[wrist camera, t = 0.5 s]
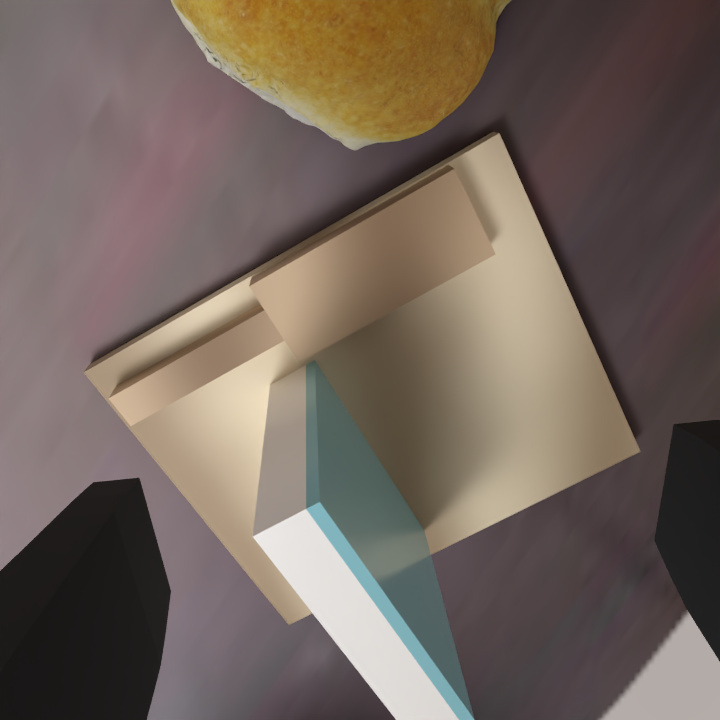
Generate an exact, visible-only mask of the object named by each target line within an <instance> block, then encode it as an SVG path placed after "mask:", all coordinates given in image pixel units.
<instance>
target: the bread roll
mask: <svg viewBox="0 0 720 720" xmlns="http://www.w3.org/2000/svg"><path fill="white" fill-rule="evenodd" d="M510 1H512V0H171V3H172V5H173V7H174V8H175V10H176V12H177V14H178V15H179V17H180V19H181V21H182V22H183V24H184V26H185V27H186V28H187V30H188V31H189V32H190V33H191V34H192V36H193V38H194V39H195V41H196V42H197V44H198V46H199V47H200V49H201V50H202V51H203V53H204V54H205V56H206V58H207V60H208V62H209V63H211V64H212V65H214V66H215V67H217V68H219V69H220V70H221V71H223V72H224V73H226V74H227V75H228V76H229V75H230V76H231V77H232V78H233V79H235V80H236V81H238V82H239V83H241V84H242V85H244V86H245V87H247V88H248V89H250V90H251V91H252V92H254V93H256V94H257V95H259V96H260V97H261V98H262V99H264V100H266V101H268V102H270V103H271V104H274V105H276V106H278V107H280V108H281V109H283V110H285V112H286V113H287V114H288V115H290V116H291V117H292V118H293V119H297V120H299V121H300V122H302V123H305V124H307V125H310V126H316V127H317V128H319V129H320V130H322V131H323V132H325V133H326V134H327V135H328V136H330V137H331V138H333V139H335V140H338V141H340V142H341V143H342V144H343V145H345V146H346V147H348V148H350V149H352V150H358V149H360V148H362V147H364V146H367V145H370V144H374V143H381V142H392V141H400V140H403V139H407V138H410V137H414V136H417V135H420V134H422V133H424V132H426V131H428V130H430V129H432V128H433V127H434V126H436V125H437V124H438V123H439V122H440V121H441V120H443V119H444V118H445V117H447V116H448V115H449V114H451V113H452V112H453V111H454V110H455V109H456V108H457V107H459V106H460V105H461V104H462V103H463V102H464V101H465V99H466V98H467V97H468V96H469V94H470V93H471V92H472V90H473V89H474V88H475V87H476V85H477V84H478V83H479V81H480V79H481V77H482V75H483V73H484V71H485V68H486V66H487V64H488V62H489V59H490V57H491V55H492V53H493V50H494V42H495V34H496V21H497V19H498V17H499V15H500V14H501V12H502V11H503V9H504V8H505V6H506V5H507V4H508V3H509V2H510Z"/></svg>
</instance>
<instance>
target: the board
mask: <svg viewBox="0 0 720 720" xmlns="http://www.w3.org/2000/svg"><path fill="white" fill-rule="evenodd" d="M447 165H449V166H451V167H453V168H454V169H455V170H456V173H457V175H458V177H459V179H460V181H461V183H462V185H463V187H464V189H465V191H466V193H467V195H468V198H469V200H470V202H471V204H472V206H473V208H474V210H475V212H476V214H477V216H478V218H479V220H480V222H481V225H482V227H483V229H484V231H485V233H486V235H487V237H488V239H489V241H490V243H491V245H492V247H493V250H494V252H495V255H494V256H492V257H490V258H488V259H486V260H485V261H483V262H481V263H479V264H477V265H475V266H474V267H472V268H470V269H468V270H466V271H465V272H463V273H461V274H459V275H457V276H455V277H454V278H452V279H450V280H448V281H446V282H445V283H443V284H441V285H439V286H437V287H435V288H434V289H432V290H430V291H428V292H426V293H425V294H423V295H421V296H419V297H417V298H415V299H414V300H412V301H410V302H408V303H406V304H405V305H403V306H401V307H399V308H397V309H395V310H394V311H392V312H390V313H388V314H386V315H385V316H383V317H381V318H379V319H377V320H375V321H374V322H372V323H370V324H368V325H366V326H365V327H363V328H361V329H359V330H357V331H355V332H354V333H352V334H350V335H348V336H346V337H345V338H343V339H341V340H339V341H337V342H336V343H334V344H332V345H330V346H328V347H326V348H325V349H323V350H321V351H319V352H317V353H316V354H314V355H312V356H310V357H308V358H306V359H305V360H303V361H301V362H298V360H297V359H296V357H295V356H294V354H293V353H292V351H291V350H290V348H289V347H288V345H287V344H286V342H285V341H283V342H281V343H279V344H277V345H276V346H274V347H272V348H270V349H269V350H267V351H265V352H263V353H261V354H260V355H258V356H256V357H254V358H252V359H251V360H249V361H247V362H245V363H243V364H242V365H240V366H238V367H236V368H234V369H233V370H231V371H229V372H227V373H225V374H224V375H222V376H220V377H218V378H216V379H215V380H213V381H211V382H209V383H207V384H206V385H204V386H202V387H200V388H198V389H197V390H195V391H193V392H191V393H190V394H188V395H186V396H184V397H182V398H181V399H179V400H177V401H175V402H173V403H172V404H170V405H168V406H166V407H164V408H163V409H161V410H159V411H157V412H155V413H154V414H152V415H150V416H148V417H146V418H145V419H143V420H141V421H139V422H137V423H136V424H134V425H132V426H130V425H129V423H128V422H127V421H126V420H125V418H124V417H123V416H122V415H121V414H120V412H119V411H118V410H117V409H116V407H115V406H114V405H113V404H112V402H111V401H110V400H109V399H108V398H109V397H110V395H111V394H112V392H113V390H114V389H115V387H116V386H117V385H119V384H121V383H123V382H124V381H126V380H128V379H130V378H131V377H133V376H135V375H137V374H138V373H140V372H142V371H144V370H145V369H147V368H149V367H151V366H153V365H154V364H156V363H158V362H160V361H161V360H163V359H165V358H167V357H168V356H170V355H172V354H174V353H175V352H177V351H179V350H181V349H182V348H184V347H186V346H188V345H189V344H191V343H193V342H195V341H197V340H198V339H200V338H202V337H204V336H205V335H207V334H209V333H211V332H212V331H214V330H216V329H218V328H219V327H221V326H223V325H225V324H226V323H228V322H230V321H232V320H234V319H235V318H237V317H239V316H241V315H242V314H244V313H246V312H248V311H249V310H251V309H253V308H255V307H256V306H258V305H260V302H259V301H258V299H257V298H256V296H255V295H254V293H253V292H252V290H251V289H250V287H249V285H250V281H251V278H252V277H254V276H256V275H258V274H259V273H261V272H263V271H264V270H266V269H268V268H270V267H271V266H273V265H275V264H277V263H278V262H280V261H282V260H284V259H285V258H287V257H289V256H291V255H292V254H294V253H296V252H298V251H299V250H301V249H303V248H305V247H306V246H308V245H310V244H311V243H313V242H315V241H317V240H318V239H320V238H322V237H324V236H325V235H327V234H329V233H331V232H332V231H334V230H336V229H338V228H339V227H341V226H343V225H345V224H346V223H348V222H350V221H351V220H353V219H355V218H357V217H358V216H360V215H362V214H364V213H365V212H367V211H369V210H371V209H372V208H374V207H376V206H378V205H379V204H381V203H383V202H385V201H386V200H388V199H390V198H391V197H393V196H395V195H397V194H398V193H400V192H402V191H404V190H405V189H407V188H409V187H411V186H412V185H414V184H416V183H418V182H419V181H421V180H423V179H425V178H426V177H428V176H430V175H431V174H433V173H435V172H437V171H438V170H440V169H442V168H444V167H445V166H447ZM314 360H315V361H316V363H317V364H318V366H319V367H320V369H321V370H322V372H323V374H324V375H325V377H326V378H327V380H328V381H329V383H330V384H331V386H332V388H333V389H334V391H335V392H336V394H337V395H338V397H339V398H340V400H341V402H342V403H343V405H344V406H345V408H346V409H347V411H348V412H349V414H350V416H351V417H352V419H353V420H354V422H355V423H356V425H357V426H358V428H359V430H360V431H361V433H362V434H363V436H364V437H365V439H366V440H367V442H368V444H369V445H370V447H371V448H372V450H373V451H374V453H375V454H376V456H377V457H378V459H379V461H380V462H381V464H382V465H383V467H384V468H385V470H386V471H387V473H388V475H389V476H390V478H391V479H392V481H393V482H394V484H395V485H396V487H397V489H398V490H399V492H400V493H401V495H402V496H403V498H404V499H405V501H406V503H407V504H408V506H409V507H410V509H411V510H412V512H413V513H414V515H415V517H416V518H417V520H418V521H419V523H420V524H421V526H422V527H423V529H424V531H425V535H426V538H427V542H428V546H429V550H430V553H431V555H432V554H434V553H436V552H438V551H440V550H442V549H444V548H446V547H448V546H450V545H452V544H454V543H456V542H458V541H460V540H462V539H464V538H466V537H468V536H470V535H472V534H474V533H476V532H478V531H480V530H482V529H485V528H487V527H489V526H491V525H493V524H495V523H497V522H499V521H501V520H503V519H505V518H507V517H509V516H511V515H513V514H515V513H517V512H519V511H521V510H523V509H525V508H527V507H529V506H531V505H533V504H535V503H537V502H539V501H541V500H543V499H545V498H547V497H549V496H551V495H553V494H555V493H557V492H559V491H562V490H564V489H566V488H568V487H570V486H572V485H574V484H576V483H578V482H580V481H582V480H584V479H586V478H588V477H590V476H592V475H594V474H596V473H598V472H600V471H602V470H604V469H606V468H608V467H610V466H612V465H614V464H616V463H618V462H620V461H622V460H624V459H626V458H628V457H630V456H632V455H634V454H637V453H639V452H640V449H639V447H638V445H637V443H636V440H635V438H634V436H633V434H632V431H631V429H630V427H629V425H628V422H627V420H626V418H625V415H624V413H623V411H622V409H621V406H620V404H619V402H618V400H617V397H616V395H615V393H614V391H613V388H612V386H611V384H610V382H609V379H608V377H607V375H606V373H605V370H604V368H603V366H602V364H601V361H600V359H599V357H598V355H597V352H596V350H595V348H594V346H593V343H592V341H591V339H590V336H589V334H588V332H587V330H586V327H585V325H584V323H583V321H582V318H581V316H580V314H579V312H578V309H577V307H576V305H575V303H574V300H573V298H572V296H571V294H570V291H569V289H568V287H567V285H566V282H565V280H564V278H563V276H562V273H561V271H560V269H559V267H558V264H557V262H556V260H555V257H554V255H553V253H552V251H551V248H550V246H549V244H548V242H547V239H546V237H545V235H544V233H543V230H542V228H541V226H540V224H539V221H538V219H537V217H536V215H535V212H534V210H533V208H532V206H531V203H530V201H529V199H528V197H527V194H526V192H525V190H524V188H523V185H522V183H521V181H520V178H519V176H518V174H517V172H516V169H515V167H514V165H513V163H512V160H511V158H510V156H509V154H508V151H507V149H506V147H505V145H504V142H503V140H502V138H501V136H500V133H497V132H492V133H490V134H488V135H486V136H485V137H483V138H481V139H480V140H478V141H476V142H474V143H473V144H471V145H469V146H467V147H466V148H464V149H462V150H460V151H459V152H457V153H455V154H454V155H452V156H450V157H448V158H447V159H445V160H443V161H441V162H440V163H438V164H436V165H434V166H433V167H431V168H429V169H428V170H426V171H424V172H422V173H421V174H419V175H417V176H415V177H414V178H412V179H410V180H408V181H407V182H405V183H403V184H401V185H400V186H398V187H396V188H395V189H393V190H391V191H389V192H388V193H386V194H384V195H382V196H381V197H379V198H377V199H375V200H374V201H372V202H370V203H369V204H367V205H365V206H363V207H362V208H360V209H358V210H356V211H355V212H353V213H351V214H349V215H348V216H346V217H344V218H343V219H341V220H339V221H337V222H336V223H334V224H332V225H330V226H329V227H327V228H325V229H323V230H322V231H320V232H318V233H316V234H315V235H313V236H311V237H310V238H308V239H306V240H304V241H303V242H301V243H299V244H297V245H296V246H294V247H292V248H290V249H289V250H287V251H285V252H284V253H282V254H280V255H278V256H277V257H275V258H273V259H271V260H270V261H268V262H266V263H264V264H263V265H261V266H259V267H258V268H256V269H254V270H252V271H251V272H249V273H247V274H245V275H244V276H242V277H240V278H238V279H237V280H235V281H233V282H232V283H230V284H228V285H226V286H225V287H223V288H221V289H219V290H218V291H216V292H214V293H212V294H211V295H209V296H207V297H205V298H204V299H202V300H200V301H199V302H197V303H195V304H193V305H192V306H190V307H188V308H186V309H185V310H183V311H181V312H179V313H178V314H176V315H174V316H173V317H171V318H169V319H167V320H166V321H164V322H162V323H160V324H159V325H157V326H155V327H153V328H152V329H150V330H148V331H147V332H145V333H143V334H141V335H140V336H138V337H136V338H134V339H133V340H131V341H129V342H127V343H126V344H124V345H122V346H120V347H119V348H117V349H115V350H114V351H112V352H110V353H108V354H107V355H105V356H103V357H101V358H100V359H98V360H96V361H94V362H93V363H91V364H90V365H89V366H88V367H87V369H86V370H85V371H84V373H85V375H86V376H87V377H88V378H89V380H90V381H91V382H92V383H93V385H94V386H95V387H96V388H97V389H98V391H99V392H100V393H101V394H102V396H103V397H104V398H105V399H106V401H107V402H108V403H109V404H110V405H111V407H112V408H113V409H114V410H115V412H116V413H117V414H118V415H119V417H120V418H121V419H122V420H123V421H124V423H125V424H126V425H127V426H128V428H129V429H130V430H131V431H132V433H133V434H134V435H135V436H136V437H137V439H138V440H139V441H140V442H141V444H142V445H143V446H144V447H145V449H146V450H147V451H148V452H149V453H150V455H151V456H152V457H153V458H154V460H155V461H156V462H157V463H158V465H159V466H160V467H161V468H162V469H163V471H164V472H165V473H166V474H167V476H168V477H169V478H170V479H171V481H172V482H173V483H174V484H175V485H176V487H177V488H178V489H179V490H180V492H181V493H182V494H183V495H184V497H185V498H186V499H187V500H188V501H189V503H190V504H191V505H192V506H193V508H194V509H195V510H196V511H197V513H198V514H199V515H200V516H201V517H202V519H203V520H204V521H205V522H206V524H207V525H208V526H209V527H210V529H211V530H212V531H213V532H214V533H215V535H216V536H217V537H218V538H219V540H220V541H221V542H222V543H223V544H224V546H225V547H226V548H227V549H228V551H229V552H230V553H231V554H232V556H233V557H234V558H235V559H236V560H237V562H238V563H239V564H240V565H241V567H242V568H243V569H244V570H245V572H246V573H247V574H248V575H249V576H250V578H251V579H252V580H253V581H254V583H255V584H256V585H257V586H258V588H259V589H260V590H261V591H262V592H263V594H264V595H265V596H266V597H267V599H268V600H269V601H270V602H271V604H272V605H273V606H274V607H275V608H276V610H277V611H278V612H279V613H280V615H281V616H282V617H283V618H284V620H285V621H286V622H287V623H288V624H289V625H290V624H292V623H294V622H296V621H298V620H300V619H302V618H304V617H306V616H308V615H310V614H312V612H311V611H310V609H309V608H308V607H307V605H306V604H305V603H304V602H303V600H302V599H301V598H300V597H299V595H298V594H297V593H296V591H295V590H294V589H293V588H292V586H291V585H290V584H289V583H288V581H287V580H286V579H285V577H284V576H283V575H282V574H281V572H280V571H279V570H278V569H277V567H276V566H275V565H274V563H273V562H272V561H271V560H270V558H269V557H268V556H267V554H266V553H265V552H264V551H263V549H262V548H261V547H260V546H259V544H258V543H257V542H256V540H255V539H254V538H253V528H254V519H255V511H256V502H257V493H258V485H259V476H260V467H261V459H262V450H263V442H264V433H265V424H266V416H267V407H268V398H269V390H270V384H272V383H274V382H276V381H278V380H279V379H281V378H283V377H285V376H287V375H289V374H290V373H292V372H294V371H296V370H298V369H299V368H301V367H303V366H305V365H307V364H309V363H310V362H312V361H314Z"/></svg>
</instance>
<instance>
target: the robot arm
mask: <svg viewBox="0 0 720 720" xmlns="http://www.w3.org/2000/svg"><path fill="white" fill-rule="evenodd" d="M655 543H656V545H657V547H658V549H659V552H660V554H661V556H662V558H663V560H664V563H665V565H666V567H667V569H668V571H669V574H670V576H671V578H672V580H673V582H674V584H675V586H676V588H677V590H678V592H679V594H680V596H681V598H682V600H683V602H684V604H685V606H686V608H687V610H688V612H689V613H690V615H691V616H692V618H693V620H694V621H695V623H696V625H697V626H698V628H699V629H700V631H701V632H702V634H703V636H704V637H705V639H706V640H707V641H708V643H709V645H710V647H711V648H712V650H713V651H714V653H715V654H716V656H717V657H718V659H719V661H720V420H712V421H702V422H692V423H682V424H674V426H673V432H672V438H671V444H670V450H669V456H668V462H667V468H666V474H665V480H664V486H663V492H662V498H661V504H660V510H659V516H658V522H657V528H656V534H655ZM170 594H171V590H170V586H169V583H168V579H167V575H166V572H165V568H164V565H163V561H162V558H161V554H160V550H159V547H158V543H157V540H156V536H155V532H154V529H153V525H152V522H151V518H150V514H149V511H148V507H147V504H146V500H145V497H144V493H143V489H142V486H141V482H140V479H139V478H133V479H123V480H113V481H103V482H93V483H92V484H91V485H90V486H89V487H88V488H86V489H85V490H84V491H83V492H82V493H81V494H80V495H79V496H78V497H77V498H75V499H74V500H73V501H72V502H71V503H70V504H69V505H68V506H67V507H66V508H65V509H64V510H63V511H62V512H61V513H60V514H59V515H58V516H57V517H56V518H55V519H54V520H53V521H52V522H51V523H50V524H48V525H47V526H46V527H45V528H44V529H43V530H42V531H41V532H40V533H39V534H38V535H37V536H36V537H35V538H34V539H33V540H32V541H31V542H30V543H29V544H28V545H27V546H26V547H25V548H24V549H23V550H22V551H21V552H20V553H19V554H18V555H16V556H15V557H14V558H13V559H12V560H11V561H10V562H9V563H8V564H7V565H6V566H5V567H4V568H3V569H2V570H1V571H0V720H147V716H148V712H149V709H150V705H151V701H152V697H153V693H154V689H155V686H156V682H157V678H158V674H159V670H160V666H161V660H162V653H163V647H164V640H165V633H166V626H167V618H168V610H169V602H170Z"/></svg>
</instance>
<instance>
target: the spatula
mask: <svg viewBox="0 0 720 720" xmlns="http://www.w3.org/2000/svg"><path fill="white" fill-rule="evenodd" d="M494 255H495V252H494V250H493V247H492V245H491V243H490V241H489V239H488V237H487V235H486V233H485V231H484V229H483V227H482V225H481V222H480V220H479V218H478V216H477V214H476V212H475V210H474V208H473V206H472V204H471V202H470V200H469V198H468V195H467V193H466V191H465V189H464V187H463V185H462V183H461V181H460V179H459V177H458V175H457V173H456V170H455V169H454V168H453V167H451V166H449V165H447V166H445V167H444V168H442V169H440V170H438V171H437V172H435V173H433V174H431V175H430V176H428V177H426V178H425V179H423V180H421V181H419V182H418V183H416V184H414V185H412V186H411V187H409V188H407V189H405V190H404V191H402V192H400V193H398V194H397V195H395V196H393V197H391V198H390V199H388V200H386V201H385V202H383V203H381V204H379V205H378V206H376V207H374V208H372V209H371V210H369V211H367V212H365V213H364V214H362V215H360V216H358V217H357V218H355V219H353V220H351V221H350V222H348V223H346V224H345V225H343V226H341V227H339V228H338V229H336V230H334V231H332V232H331V233H329V234H327V235H325V236H324V237H322V238H320V239H318V240H317V241H315V242H313V243H311V244H310V245H308V246H306V247H305V248H303V249H301V250H299V251H298V252H296V253H294V254H292V255H291V256H289V257H287V258H285V259H284V260H282V261H280V262H278V263H277V264H275V265H273V266H271V267H270V268H268V269H266V270H264V271H263V272H261V273H259V274H258V275H256V276H254V277H252V278H251V281H250V285H249V287H250V289H251V290H252V292H253V293H254V295H255V296H256V298H257V299H258V301H259V302H260V305H258V306H256V307H255V308H253V309H251V310H249V311H248V312H246V313H244V314H242V315H241V316H239V317H237V318H235V319H234V320H232V321H230V322H228V323H226V324H225V325H223V326H221V327H219V328H218V329H216V330H214V331H212V332H211V333H209V334H207V335H205V336H204V337H202V338H200V339H198V340H197V341H195V342H193V343H191V344H189V345H188V346H186V347H184V348H182V349H181V350H179V351H177V352H175V353H174V354H172V355H170V356H168V357H167V358H165V359H163V360H161V361H160V362H158V363H156V364H154V365H153V366H151V367H149V368H147V369H145V370H144V371H142V372H140V373H138V374H137V375H135V376H133V377H131V378H130V379H128V380H126V381H124V382H123V383H121V384H119V385H117V386H116V387H115V389H114V390H113V392H112V394H111V395H110V397H109V398H108V399H109V400H110V401H111V402H112V404H113V405H114V406H115V407H116V409H117V410H118V411H119V412H120V414H121V415H122V416H123V417H124V418H125V420H126V421H127V422H128V423H129V425H130V426H132V425H134V424H136V423H137V422H139V421H141V420H143V419H145V418H146V417H148V416H150V415H152V414H154V413H155V412H157V411H159V410H161V409H163V408H164V407H166V406H168V405H170V404H172V403H173V402H175V401H177V400H179V399H181V398H182V397H184V396H186V395H188V394H190V393H191V392H193V391H195V390H197V389H198V388H200V387H202V386H204V385H206V384H207V383H209V382H211V381H213V380H215V379H216V378H218V377H220V376H222V375H224V374H225V373H227V372H229V371H231V370H233V369H234V368H236V367H238V366H240V365H242V364H243V363H245V362H247V361H249V360H251V359H252V358H254V357H256V356H258V355H260V354H261V353H263V352H265V351H267V350H269V349H270V348H272V347H274V346H276V345H277V344H279V343H281V342H283V341H285V342H286V344H287V345H288V347H289V348H290V350H291V351H292V353H293V354H294V356H295V357H296V359H297V360H298V362H301V361H303V360H305V359H306V358H308V357H310V356H312V355H314V354H316V353H317V352H319V351H321V350H323V349H325V348H326V347H328V346H330V345H332V344H334V343H336V342H337V341H339V340H341V339H343V338H345V337H346V336H348V335H350V334H352V333H354V332H355V331H357V330H359V329H361V328H363V327H365V326H366V325H368V324H370V323H372V322H374V321H375V320H377V319H379V318H381V317H383V316H385V315H386V314H388V313H390V312H392V311H394V310H395V309H397V308H399V307H401V306H403V305H405V304H406V303H408V302H410V301H412V300H414V299H415V298H417V297H419V296H421V295H423V294H425V293H426V292H428V291H430V290H432V289H434V288H435V287H437V286H439V285H441V284H443V283H445V282H446V281H448V280H450V279H452V278H454V277H455V276H457V275H459V274H461V273H463V272H465V271H466V270H468V269H470V268H472V267H474V266H475V265H477V264H479V263H481V262H483V261H485V260H486V259H488V258H490V257H492V256H494Z"/></svg>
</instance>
